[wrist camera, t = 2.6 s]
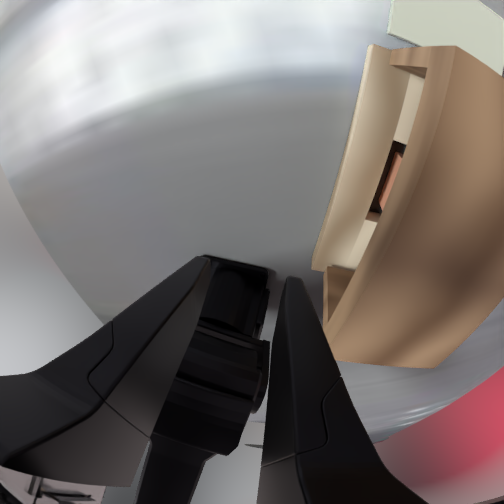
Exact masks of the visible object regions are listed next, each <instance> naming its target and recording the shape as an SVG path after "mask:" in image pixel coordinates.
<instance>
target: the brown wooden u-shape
mask: <svg viewBox="0 0 504 504" xmlns="http://www.w3.org/2000/svg"><path fill="white" fill-rule="evenodd" d="M389 65H391V66H394V67H397V68H399V69H402V70H404V71H407V72H409V73H411V74H414V75H416V76H418V77H421V78H423V79H425V81H424V85H423V89H422V94H421V98H420V101H419V105H418V109H417V113H416V116H415V120H414V123H413V126H412V130H411V133H410V136H409V139H408V143H407V146H406V149H405V152H404V155H403V158H402V161H401V164H400V166H399V169H398V172H397V175H396V177H395V180H394V183H393V186H392V188H391V191H390V193H389V196H388V198H387V201H386V203H385V206H384V208H383V211H382V213H381V216H380V218H379V220H378V223H377V225H376V227H375V230H374V232H373V234H372V236H371V239H370V241H369V243H368V245H367V248H366V250H365V252H364V254H363V256H362V258H361V260H360V262H359V264H358V267H357V269H356V271H355V272H352V271H347V270H343V269H338V268H333V267H329V266H327V268H326V270H325V273H324V275H323V331H324V333H325V336H326V338H327V341H328V343H329V346H330V348H331V351H332V353H333V356H334V358H335V360H339V361H346V362H355V363H363V364H373V365H384V366H396V367H412V368H435V367H436V366H437V365H439V364H440V363H441V362H442V361H443V360H444V359H445V358H447V357H448V356H449V355H450V354H451V353H452V352H453V351H454V350H455V349H456V348H457V347H459V346H460V345H461V344H462V343H463V342H464V341H465V340H466V339H467V338H468V337H469V336H470V335H471V334H472V333H473V332H474V331H475V330H476V328H477V327H478V326H479V325H480V324H481V323H482V322H483V321H484V320H485V319H486V318H487V317H488V315H489V314H490V313H491V312H492V311H493V310H494V308H495V307H496V306H497V305H498V304H499V303H500V301H501V300H502V299H503V298H504V78H503V77H502V76H501V75H499V74H498V73H497V72H495V71H494V70H493V69H491V68H490V67H488V66H487V65H486V64H484V63H483V62H481V61H480V60H478V59H477V58H475V57H474V56H472V55H471V54H469V53H467V52H466V51H464V50H463V49H461V48H459V47H458V46H424V47H411V48H402V49H393V50H392V53H391V58H390V63H389Z"/></svg>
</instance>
